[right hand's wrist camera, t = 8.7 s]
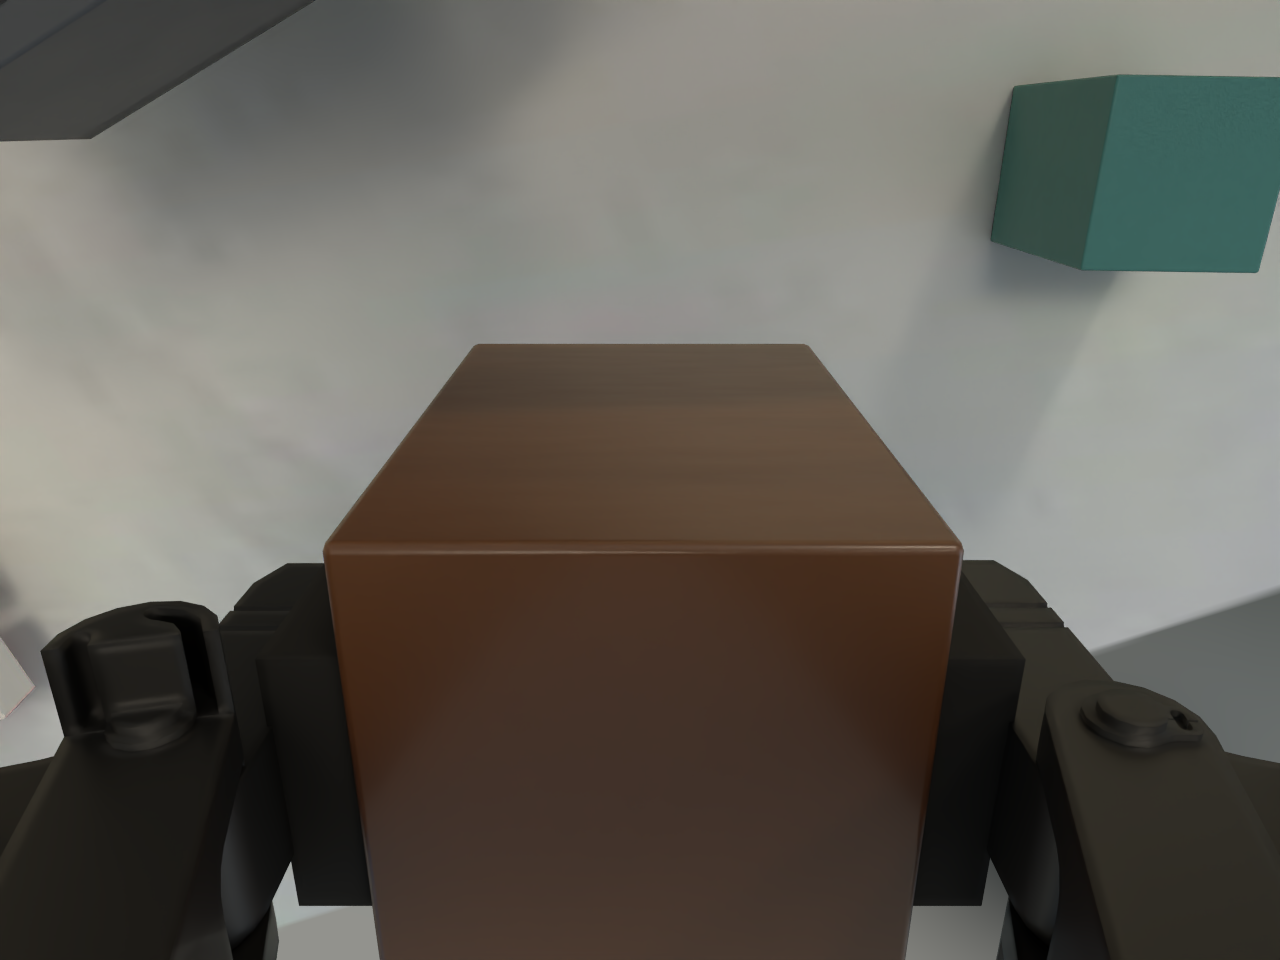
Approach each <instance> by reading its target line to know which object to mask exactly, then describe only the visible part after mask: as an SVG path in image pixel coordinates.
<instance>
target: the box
mask: <svg viewBox="0 0 1280 960" xmlns="http://www.w3.org/2000/svg"><path fill="white" fill-rule="evenodd" d="M313 1H315V0H0V141H32V140H67V139H91V138H93V137H95V136H96V135H98V134H99V133H101V132H103V131H104V130H106V129H107V128H109V127H111V126H112V125H114V124H116V123H117V122H119V121H120V120H122V119H124V118H125V117H127V116H129V115H130V114H132V113H133V112H135V111H137V110H138V109H140V108H142V107H143V106H145V105H146V104H148V103H150V102H151V101H153V100H155V99H156V98H158V97H159V96H161V95H163V94H164V93H166V92H167V91H169V90H171V89H172V88H174V87H176V86H177V85H179V84H180V83H182V82H184V81H185V80H187V79H189V78H190V77H192V76H193V75H195V74H197V73H198V72H200V71H202V70H203V69H205V68H206V67H208V66H210V65H211V64H213V63H214V62H216V61H218V60H219V59H221V58H223V57H224V56H226V55H227V54H229V53H231V52H232V51H234V50H236V49H237V48H239V47H240V46H242V45H244V44H245V43H247V42H249V41H250V40H252V39H253V38H255V37H257V36H258V35H260V34H262V33H263V32H265V31H266V30H268V29H270V28H271V27H273V26H274V25H276V24H278V23H279V22H281V21H283V20H284V19H286V18H287V17H289V16H291V15H292V14H294V13H296V12H297V11H299V10H300V9H302V8H304V7H305V6H307V5H309V4H310V3H312V2H313Z"/></svg>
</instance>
